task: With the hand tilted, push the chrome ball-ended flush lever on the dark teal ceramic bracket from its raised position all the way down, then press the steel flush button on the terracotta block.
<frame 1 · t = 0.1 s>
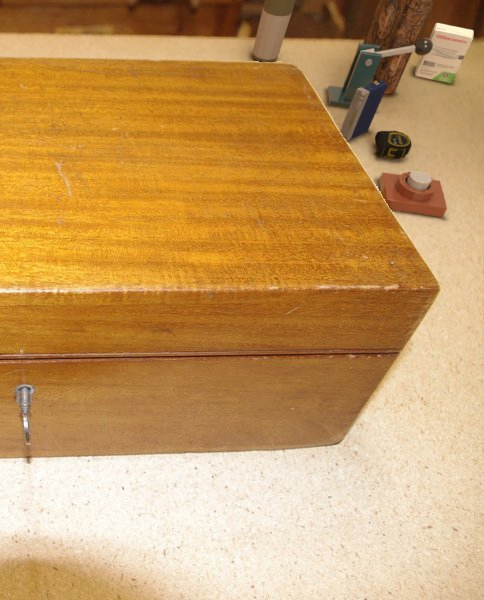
tree bark piece: (375, 78, 172), on the worktop
cassette player: (352, 135, 155), on the worktop
white cardboard box: (432, 76, 173), on the worktop
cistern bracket: (350, 100, 164), on the worktop
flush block: (409, 198, 140), on the worktop
flush button: (419, 180, 136), point 4 cm above the worktop, slide at 0.1 cm
flush lever: (396, 51, 154), point 13 cm above the worktop, hinge at 20.0°
tape measure: (385, 154, 150), on the worktop
bottle: (263, 59, 177), on the worktop
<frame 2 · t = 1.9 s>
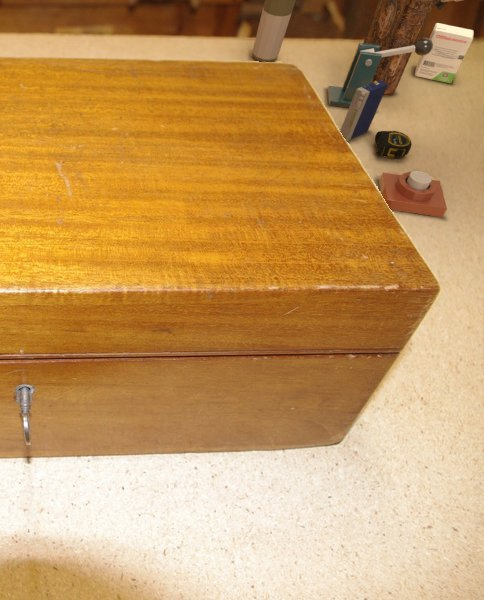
hand: (462, 8, 134), 29 cm above the worktop, tool tilted 45°, fingers open, 8 cm apart
nothing on the worktop moved.
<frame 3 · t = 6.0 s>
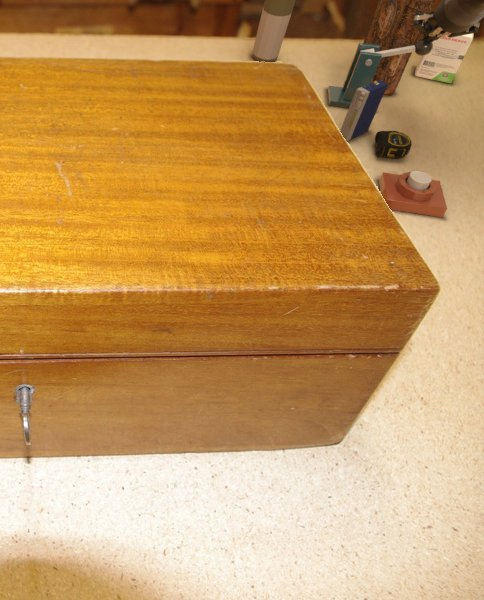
hand: (428, 37, 150), 17 cm above the worktop, tool tilted 45°, fingers closed
flush lever: (396, 51, 154), point 13 cm above the worktop, hinge at 19.7°, touching gripper
everything else where it was.
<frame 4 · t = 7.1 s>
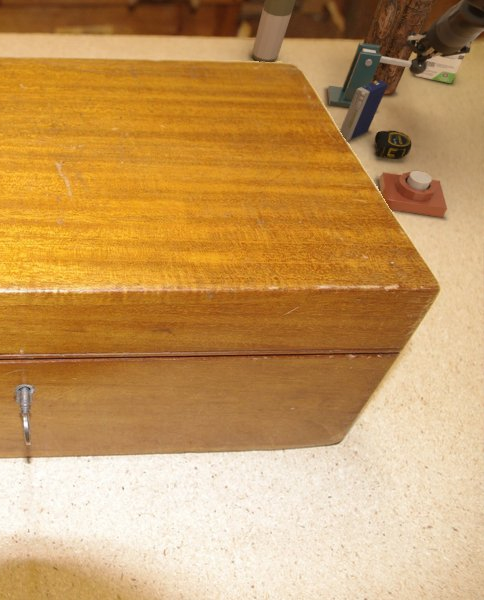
hand: (421, 56, 153), 13 cm above the worktop, tool tilted 45°, fingers closed
flush lever: (393, 61, 155), point 11 cm above the worktop, hinge at -3.4°, touching gripper
everything else where it was.
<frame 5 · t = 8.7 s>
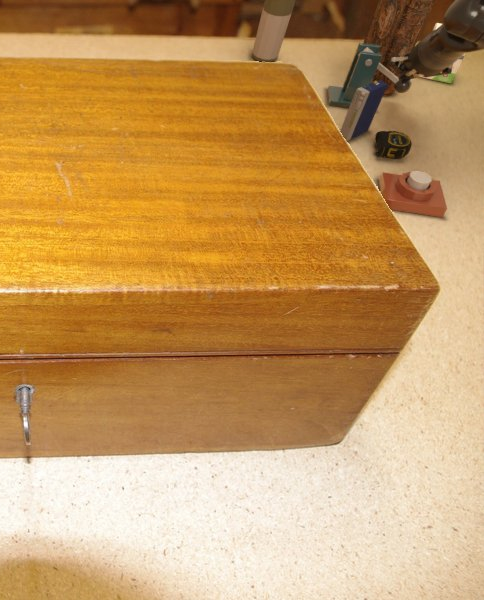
hand: (405, 75, 157), 8 cm above the worktop, tool tilted 45°, fingers closed
flush lever: (385, 71, 157), point 8 cm above the worktop, hinge at -30.2°, touching gripper
everything else where it was.
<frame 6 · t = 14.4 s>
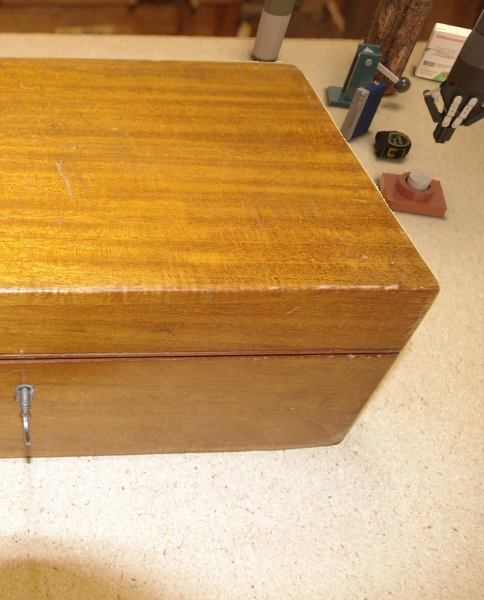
hand: (438, 140, 131), 13 cm above the worktop, tool pointing down, fingers closed
flush lever: (385, 71, 157), point 8 cm above the worktop, hinge at -30.2°
everything else where it was.
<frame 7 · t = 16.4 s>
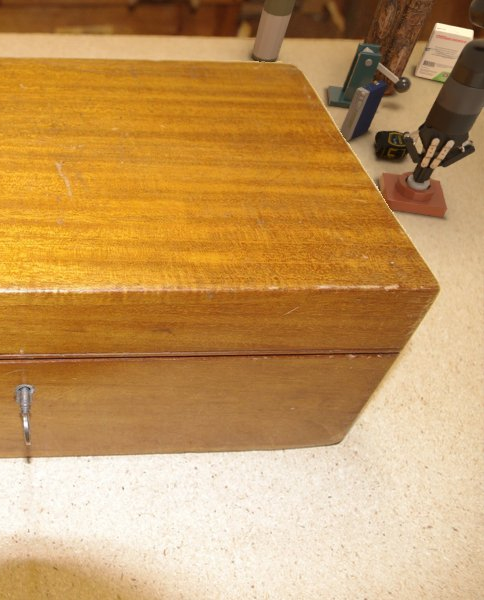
hand: (418, 180, 136), 5 cm above the worktop, tool pointing down, fingers closed
flush button: (417, 184, 137), point 4 cm above the worktop, slide at -0.8 cm, touching gripper
everything else where it was.
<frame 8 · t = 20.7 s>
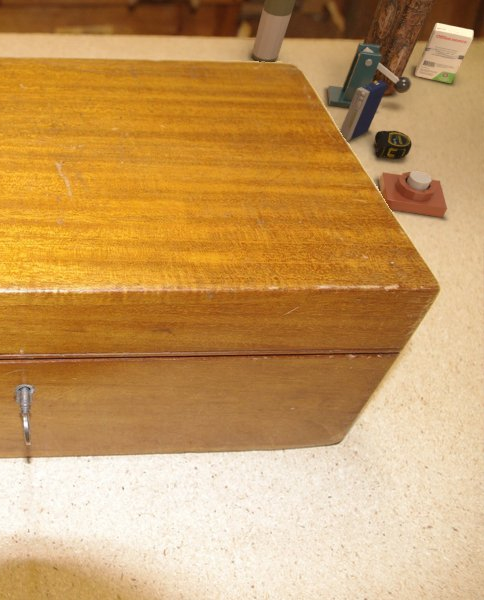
flush button: (419, 180, 136), point 4 cm above the worktop, slide at 0.1 cm
everything else where it was.
at the end: flush lever at -30° (first picture: +20°); flush button pushed in 1.1 cm at the most during the clip, back to where it started at the end; flush button slide at 0.1 cm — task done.
